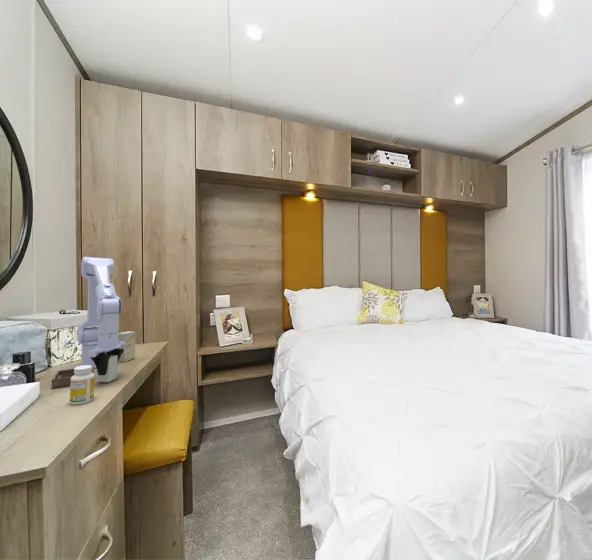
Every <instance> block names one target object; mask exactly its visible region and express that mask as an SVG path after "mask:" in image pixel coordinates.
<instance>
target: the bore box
mask: <svg viewBox="0 0 592 560" xmlns="http://www.w3.org/2000/svg"><path fill="white" fill-rule="evenodd" d="M94 371H95V368H94V366H92V371H91V372H92V373H94V374H95V372H94ZM73 375H75V374H74V368H70V369H69V368H68V369H62V370H56V372H55V374H54V375H53V378H52V379H51V390H55V389H56V388H57V389H61V387H63V388H68V387H67V386H69V387H70V383H71V377H72V376H73Z"/></svg>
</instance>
